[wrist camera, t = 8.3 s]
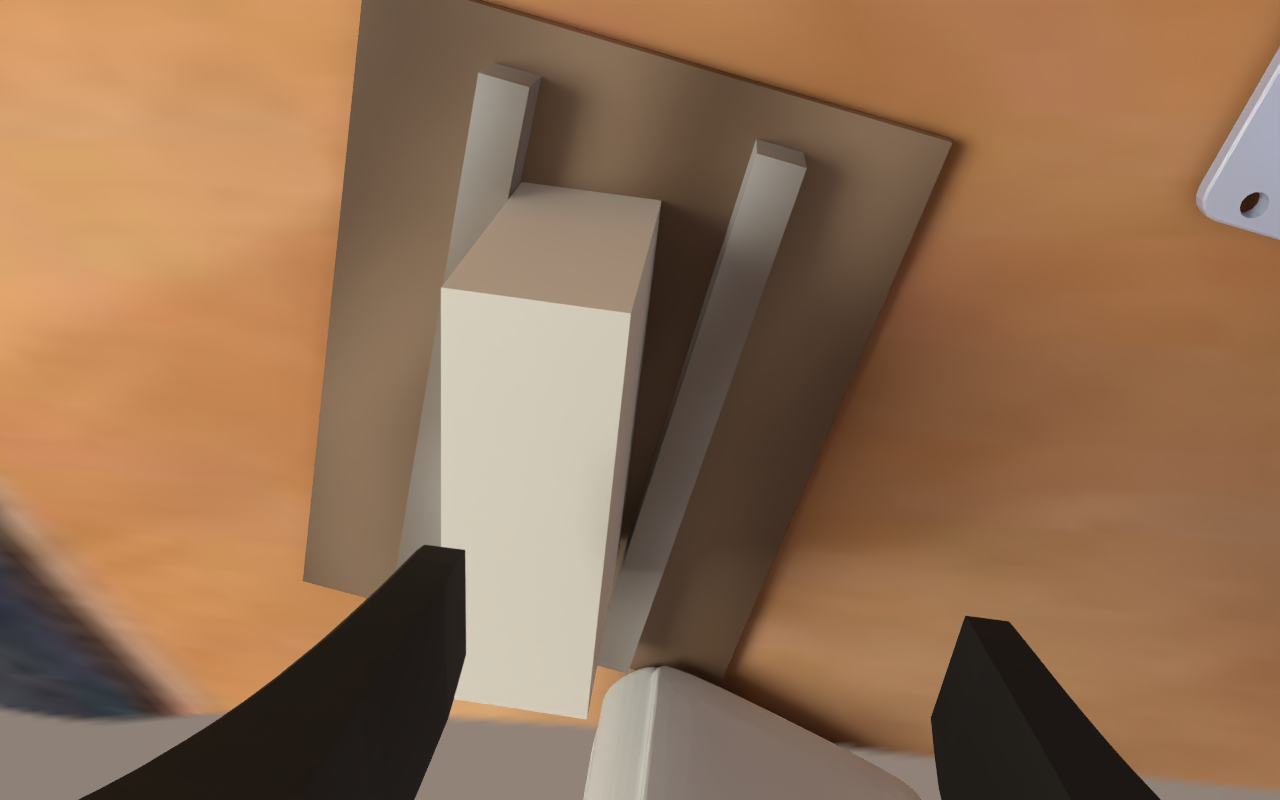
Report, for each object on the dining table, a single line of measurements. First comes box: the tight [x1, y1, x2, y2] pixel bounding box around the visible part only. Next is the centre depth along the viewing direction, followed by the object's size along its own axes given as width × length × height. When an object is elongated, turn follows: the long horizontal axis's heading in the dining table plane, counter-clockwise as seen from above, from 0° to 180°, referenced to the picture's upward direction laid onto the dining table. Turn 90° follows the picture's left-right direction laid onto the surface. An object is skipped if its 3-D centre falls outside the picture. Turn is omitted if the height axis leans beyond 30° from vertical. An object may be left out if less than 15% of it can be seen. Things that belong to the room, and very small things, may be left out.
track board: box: [303, 0, 953, 687], centre depth 22 cm, size 12×16×2 cm
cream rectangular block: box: [441, 182, 661, 719], centre depth 19 cm, size 3×9×6 cm, turn 174°
